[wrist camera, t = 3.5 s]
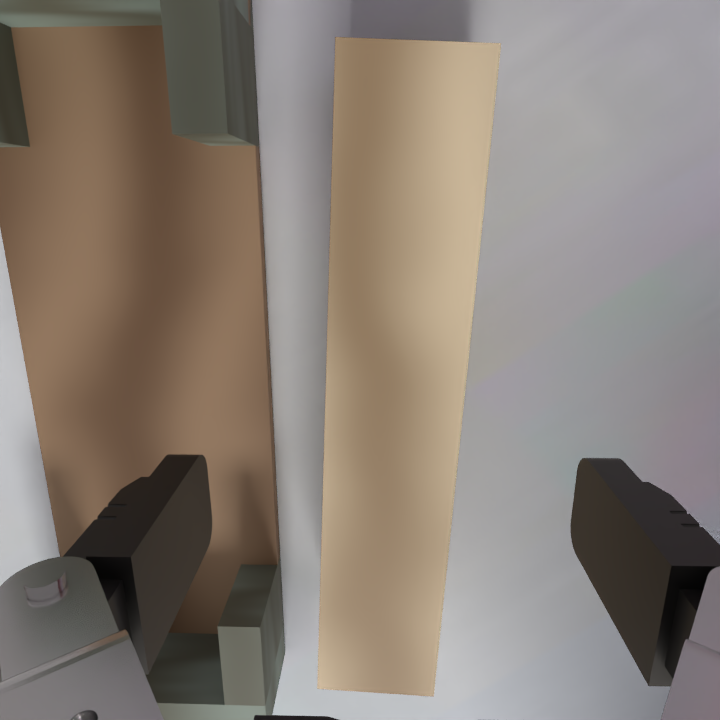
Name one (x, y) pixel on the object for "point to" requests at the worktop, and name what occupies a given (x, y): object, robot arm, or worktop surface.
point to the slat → (398, 347)
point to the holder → (150, 300)
